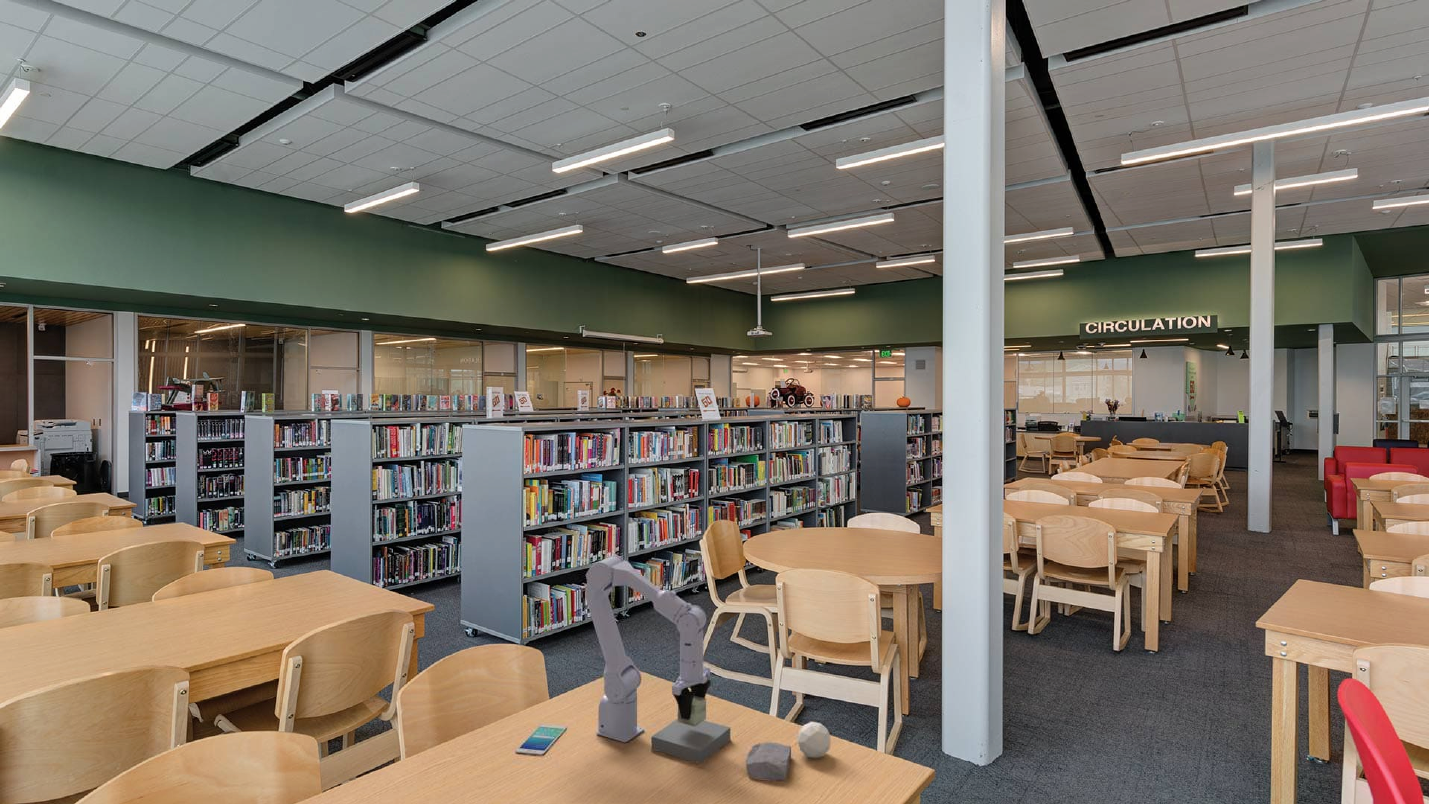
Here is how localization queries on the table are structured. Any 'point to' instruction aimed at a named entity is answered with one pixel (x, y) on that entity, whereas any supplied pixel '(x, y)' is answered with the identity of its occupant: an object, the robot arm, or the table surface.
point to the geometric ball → (814, 740)
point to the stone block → (768, 761)
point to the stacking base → (691, 740)
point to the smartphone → (541, 739)
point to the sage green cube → (695, 712)
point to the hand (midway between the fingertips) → (691, 714)
